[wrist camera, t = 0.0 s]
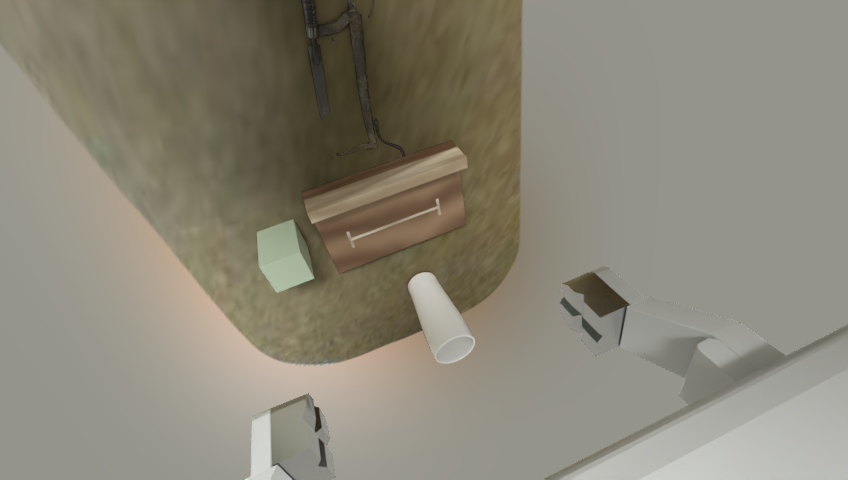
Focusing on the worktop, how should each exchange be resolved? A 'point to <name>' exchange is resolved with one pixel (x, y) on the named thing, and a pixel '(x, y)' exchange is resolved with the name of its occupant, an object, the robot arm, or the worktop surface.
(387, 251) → the walnut board
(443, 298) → the drinking glass
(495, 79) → the worktop surface
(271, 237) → the block
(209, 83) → the worktop surface
